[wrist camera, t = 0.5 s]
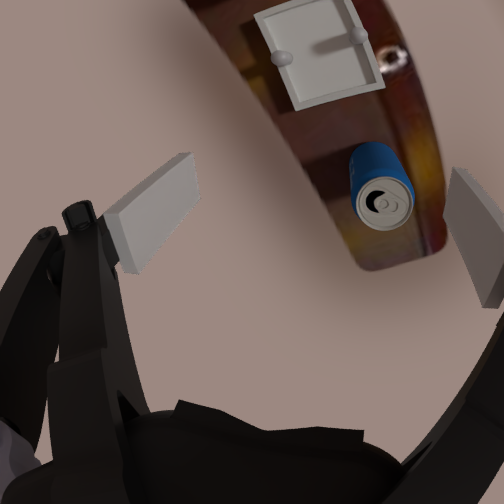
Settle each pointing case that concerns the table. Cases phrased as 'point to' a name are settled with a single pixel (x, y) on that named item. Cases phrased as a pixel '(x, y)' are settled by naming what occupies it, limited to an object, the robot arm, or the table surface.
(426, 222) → the table surface
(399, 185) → the beverage can
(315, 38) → the tray
